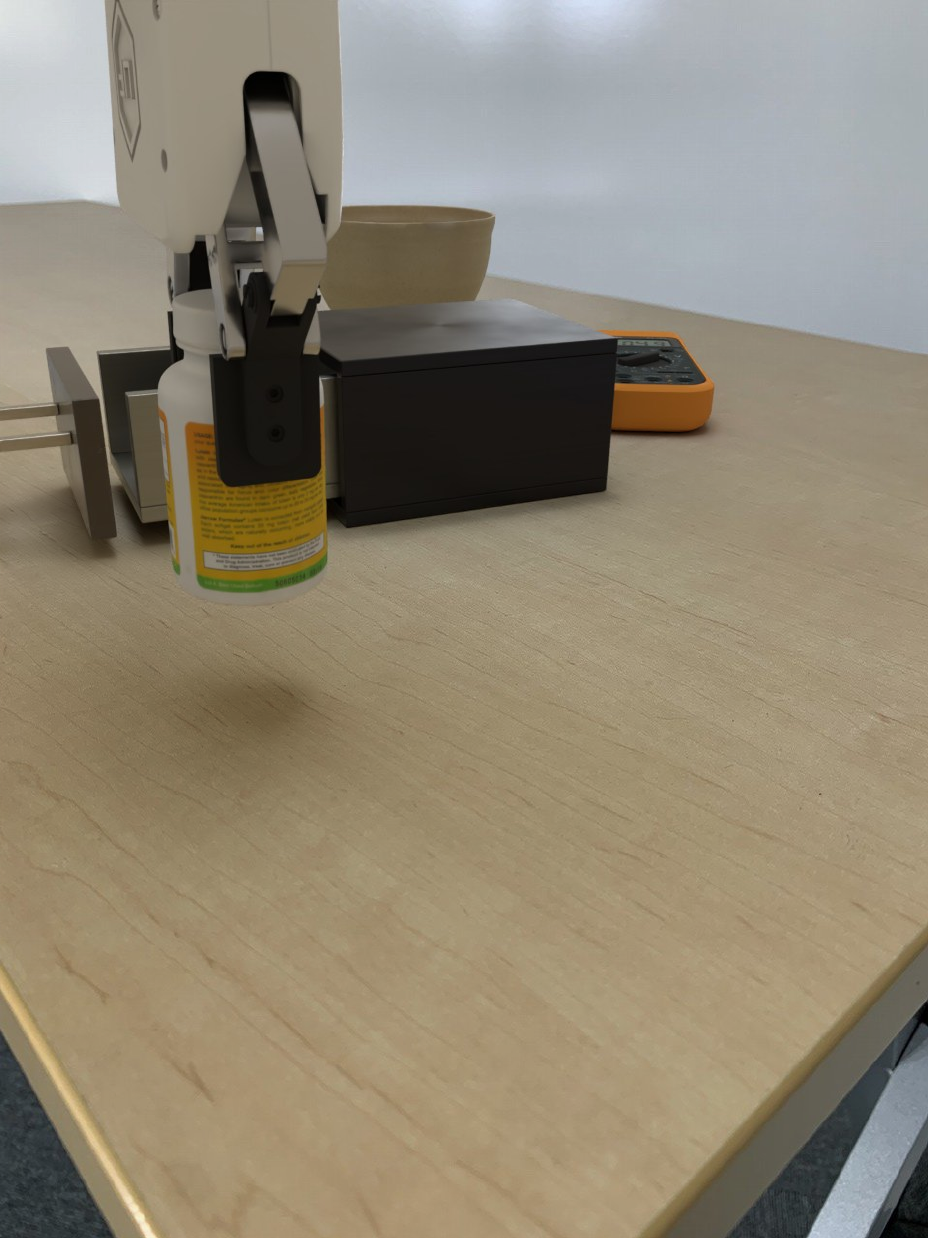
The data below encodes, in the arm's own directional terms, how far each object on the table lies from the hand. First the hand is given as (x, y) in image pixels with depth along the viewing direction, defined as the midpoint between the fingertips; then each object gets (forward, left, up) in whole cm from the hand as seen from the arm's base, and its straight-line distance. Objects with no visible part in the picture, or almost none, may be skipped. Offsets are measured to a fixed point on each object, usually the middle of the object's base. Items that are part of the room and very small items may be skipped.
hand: (244, 444), depth 37 cm
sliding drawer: (0, +21, -9) cm, 23 cm away
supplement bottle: (0, 0, -5) cm, 5 cm away
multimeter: (+36, +31, -10) cm, 49 cm away
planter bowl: (+27, +55, -10) cm, 63 cm away
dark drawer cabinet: (+16, +21, -10) cm, 29 cm away
